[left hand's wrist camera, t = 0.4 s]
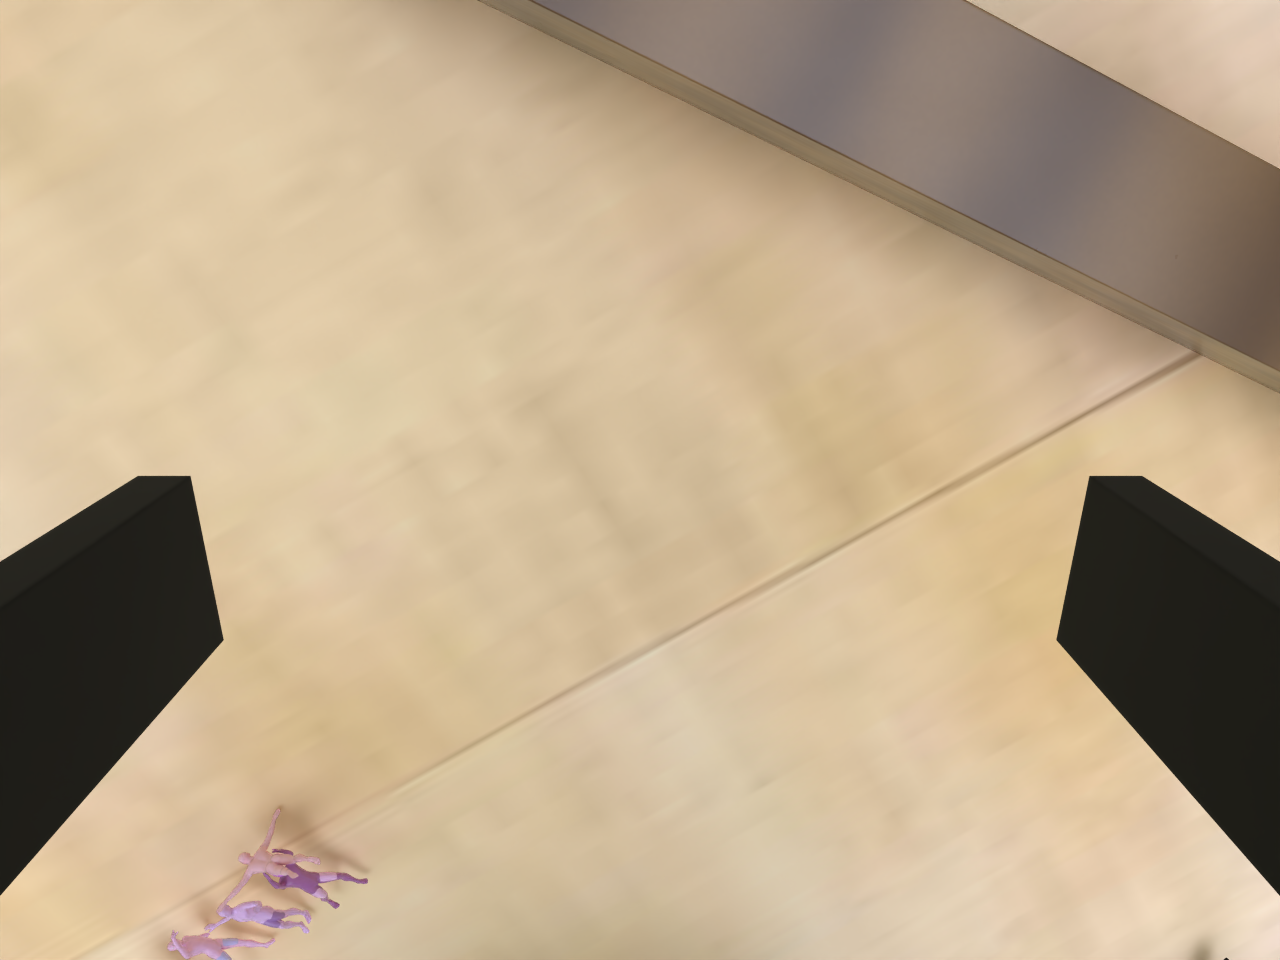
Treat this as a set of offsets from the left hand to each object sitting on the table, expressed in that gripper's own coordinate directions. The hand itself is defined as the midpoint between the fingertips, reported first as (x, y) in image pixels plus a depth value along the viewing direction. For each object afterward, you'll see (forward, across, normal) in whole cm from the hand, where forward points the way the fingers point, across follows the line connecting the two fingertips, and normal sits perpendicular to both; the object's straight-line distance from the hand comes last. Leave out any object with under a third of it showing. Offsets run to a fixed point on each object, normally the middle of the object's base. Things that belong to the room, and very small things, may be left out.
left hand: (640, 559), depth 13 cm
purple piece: (+27, +23, +35) cm, 49 cm away
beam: (+27, -14, -6) cm, 31 cm away
